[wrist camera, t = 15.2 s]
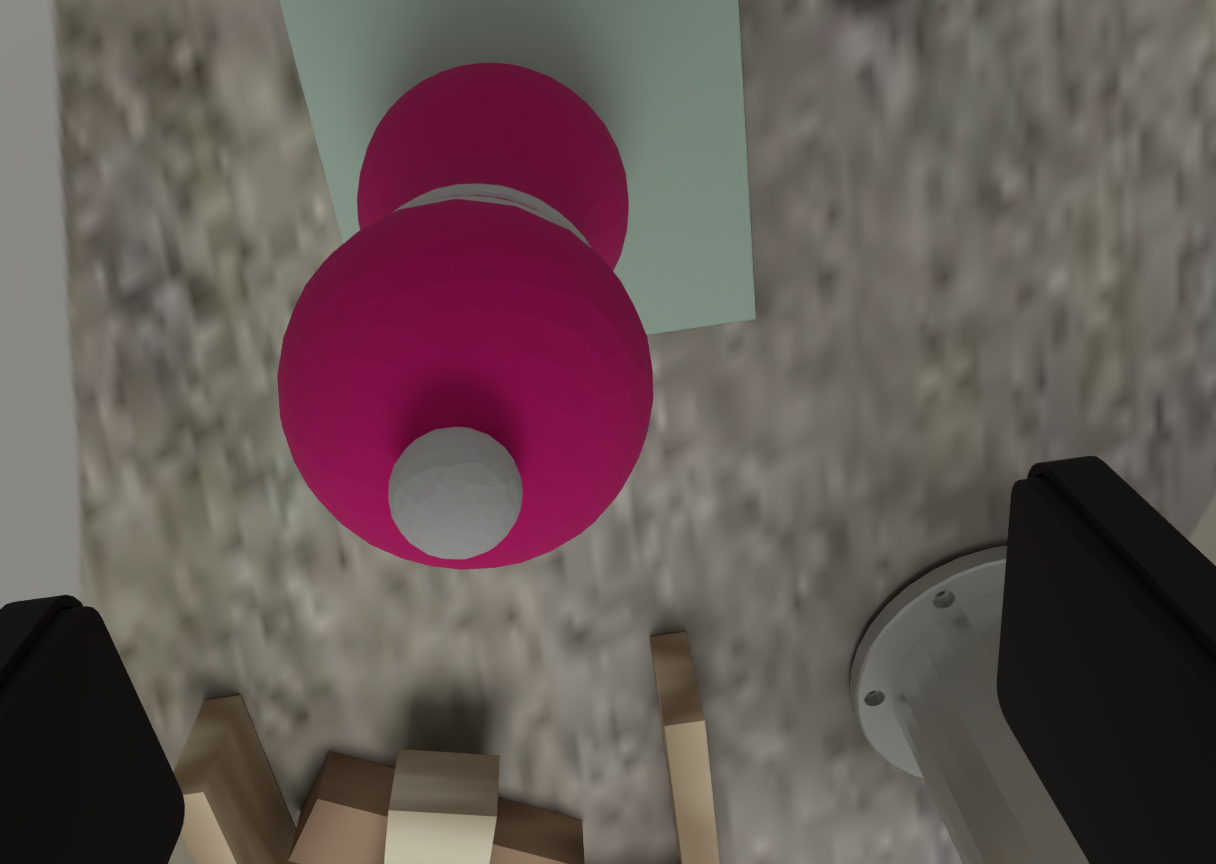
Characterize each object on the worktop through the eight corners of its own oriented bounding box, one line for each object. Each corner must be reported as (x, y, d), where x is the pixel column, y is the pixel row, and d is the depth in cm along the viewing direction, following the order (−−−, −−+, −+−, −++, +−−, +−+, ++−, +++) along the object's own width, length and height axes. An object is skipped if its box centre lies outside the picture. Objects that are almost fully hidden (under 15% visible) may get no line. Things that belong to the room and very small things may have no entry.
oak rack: (685, 631, 39) (709, 741, 34) (713, 883, 47) (736, 1006, 42) (204, 700, 39) (152, 820, 34) (309, 941, 47) (281, 1070, 42)
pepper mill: (649, 92, 29) (830, 356, 11) (575, 308, 32) (624, 781, 14) (413, 8, 27) (195, 160, 10) (359, 243, 30) (116, 682, 13)
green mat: (728, -118, 27) (731, -119, 26) (752, 313, 33) (755, 319, 33) (269, -53, 27) (265, -52, 26) (379, 367, 33) (377, 372, 33)
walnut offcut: (581, 811, 45) (584, 867, 42) (546, 866, 46) (547, 923, 44) (330, 743, 42) (317, 798, 39) (303, 803, 43) (288, 861, 40)
